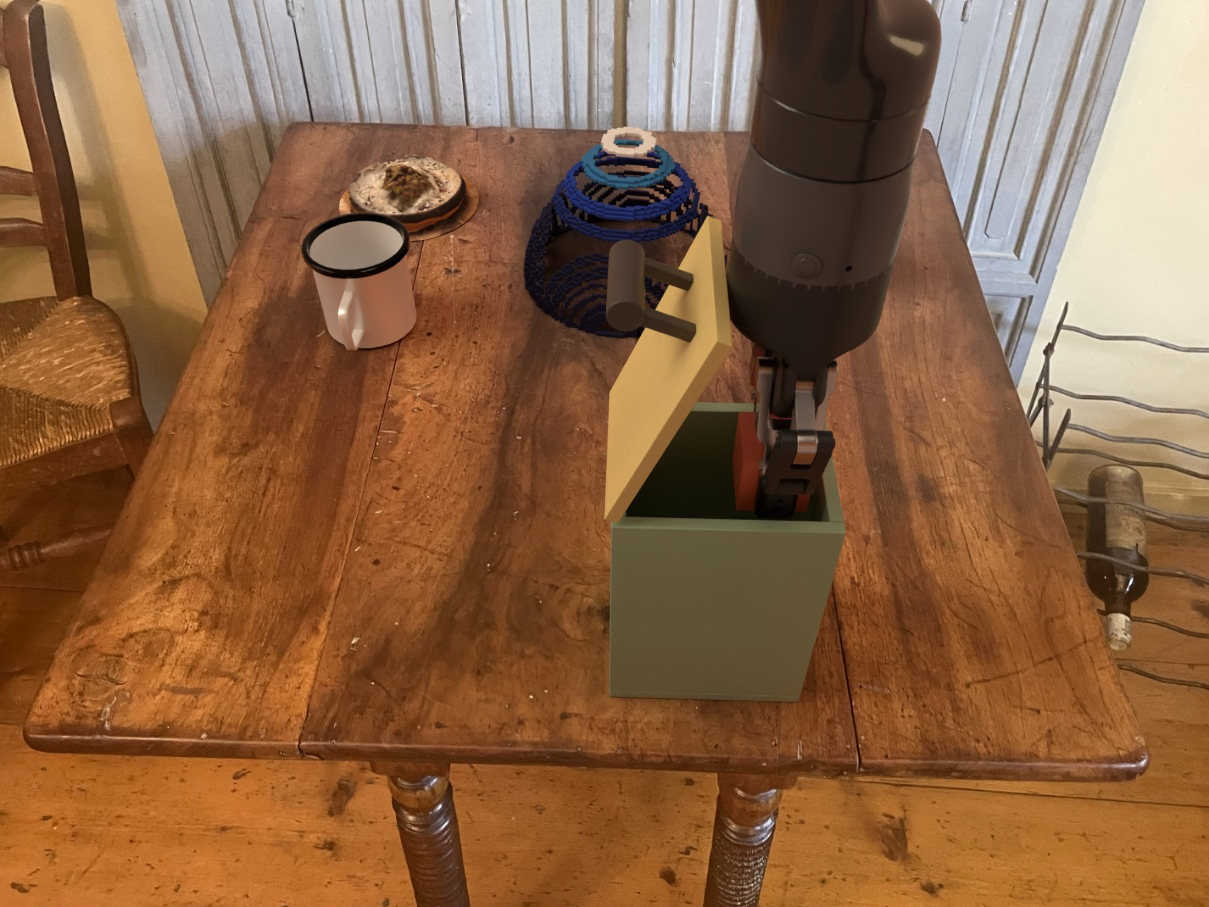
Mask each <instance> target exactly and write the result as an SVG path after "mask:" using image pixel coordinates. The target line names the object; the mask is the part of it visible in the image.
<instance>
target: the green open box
mask: <svg viewBox="0 0 1209 907" xmlns="http://www.w3.org/2000/svg"><path fill="white" fill-rule="evenodd" d="M739 412H754V406H753V402H752V403H751V402H750V403H747V402H746V403H745V402H707V401H706V402H705V401H704V402H703V401H700V402H699V401H697V402H696V403H695V405H694V407H693V408H692V410H691V411H690V413H689V414H688V416H687V417H686V419H685V420H684V422H683V423H682V425H681V427H680V428H679V430H678V431H677V433H676V434H675V436H674V437H673V439H672V440H671V442H670V444H669V445H668V447H667V448H666V450H665V451H664V453H663V454H662V456H661V457H660V459H659V460H658V462H657V464H656V465H655V467H654V468H653V470H652V471H651V473H650V474H649V476H648V477H647V479H646V480H645V482H644V484H643V485H642V487H641V488H640V490H639V491H638V493H637V494H636V496H635V497H634V499H633V500H632V502H631V504H630V505H629V507H628V508H627V510H626V511H625V513H624V514H623V516H622V517H621V519H620V521H619V522H618V523H615V522H611V521H610V567H609V568H610V569H609V570H610V571H609V573H610V576H609V578H610V579H609V581H610V582H609V591H610V592H609V662H608V664H609V672H608V675H609V676H608V678H609V679H608V696H609V697H612V698H613V697H614V698H639V699H642V698H643V699H645V698H647V699H675V700H676V699H677V700H707V701H708V700H709V701H710V700H711V701H713V700H714V701H715V700H717V701H748V702H777V703H779V702H781V703H782V702H784V703H798V702H799V701H800V697H801V694H802V690H803V686H804V684H805V679H806V676H807V673H808V669H809V667H810V666H809V665H810V663H811V659H812V655H813V652H814V647H815V645H816V641H817V637H818V634H819V630H820V627H821V626H820V625H821V623H822V619H823V616H824V612H825V609H826V605H827V602H828V598H829V595H830V591H831V588H832V584H833V581H834V577H835V575H836V574H835V573H836V570H837V567H838V563H839V559H840V556H841V552H842V549H843V545H844V543H845V538H846V534H847V531H846V524H845V520H844V513H843V509H842V502H841V496H840V491H839V485H838V480H837V473H836V469H835V462H834V457H833V455H832V456H831V458H830V460H829V462H828V464H827V466H826V468H825V470H824V473H823V475H822V477H821V479H820V481H819V483H818V485H817V487H816V489H815V491H814V493H813V495H810V499H809V503H808V508H807V512H794V515H793V516H791V517H789V518H760V517H758V516H756V515H755V511H744V510H736V500H735V488H734V475H733V463H732V458H733V451H734V444H735V437H736V430H737V422H738V415H739ZM824 431H829V429H828V423H827V420H826V421H825V428H824Z"/></svg>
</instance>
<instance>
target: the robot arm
mask: <svg viewBox="0 0 1209 907" xmlns="http://www.w3.org/2000/svg"><path fill="white" fill-rule="evenodd" d="M754 8H755V14H756V20H757V29H758V38H759V55H758V60H757V66H756V74H755V81H754V91H753V99H752V108H751V116H750V126H749V134H748V139H747V145H746V149H745V153H744V157H743V160H742V164H741V167H740V172H739V176H738V181H737V189H736V199H735V207H734V216H733V224H732V234H731V240H730V241H731V242H730V251H729V258H728V267H727V268H728V269H727V276H726V279H727V290H728V302H729V313H730V323H732V324H733V326H734V327H735V329H736V330H737V331H738V332H739V333H740V334H741V335H742V336H744V337H745V338H746V339H747V340H749V341H750V343H751V344H750V345H751V355H750V360H749V366H748V368H749V384H750V386H751V387H752V390H750V400H752V404H753V406H754V412H756V414H755V429H756V434H757V438H758V440H759V441H760V442H762V447H761V457H760V461H758V470H760V472H759V477H758V483H757V489H756V495H755V501H754V509H755V515H756V516H758V517H760V518H789V517H791V516H793V515H794V512H795V507H796V503H797V498H798V495H813V493H814V491H815V489H816V487H817V485H818V483H819V481H820V479H821V477H822V475H823V473H824V470H825V468H826V466H827V464H828V462H829V460H830V458H831V456H833V452H834V450H835V448H836V438H835V437H834V432H833V430H828V431H824V428H825V421H826V422H827V415H828V414H827V413H828V407H829V399H830V397H831V396H832V395H833V394H834V393H835V391H836V386H837V379H838V367H839V366H838V365H839V364H838V358H839V357H841V356H843V355H845V354H847V353H849V352H851V351H853V350H855V349H857V348H858V347H860V346H862V345H863V344H864V343H866V342H867V341H868V340H869V339H870V338H871V337H872V336H873V334H874V333H875V332H876V330H877V329H878V326H879V324H880V321H881V318H882V314H883V310H884V307H885V306H884V305H885V302H886V298H887V297H886V296H887V294H888V291H889V285H890V283H891V277H892V275H893V270H894V266H895V263H896V259H897V255H898V251H899V247H900V243H901V240H902V235H903V231H904V229H905V228H904V227H905V223H906V220H907V216H908V213H909V212H908V211H909V209H910V203H911V197H912V191H913V179H914V169H915V164H916V158H917V157H916V156H917V153H918V149H919V145H920V141H921V137H922V132H923V129H924V125H925V121H926V117H927V114H928V110H929V105H930V102H931V98H932V93H933V90H934V85H935V80H936V76H937V72H938V67H939V63H940V56H941V51H942V43H943V42H942V41H943V40H942V26H941V21H940V18H939V16H938V14H937V11H936V9H935V8H934V6H933V5H932V4H931V3H930V2H929V0H754ZM769 414H774V415H775V416H776V417H779V418H792V419H772V418H769Z"/></svg>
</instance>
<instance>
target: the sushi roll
mask: <svg viewBox="0 0 1209 907" xmlns="http://www.w3.org/2000/svg"><path fill="white" fill-rule="evenodd" d="M403 156H404V157H400V158H399V159H398V158H397V157H393V159H394V161H392V160H390V158H388V160H390V161H389V162H388V161H378V162H377V163H376V162H375V163H373V164H370V165H369V166H366V167H365V168H363V169H361V170H358V171H357V175H356V176H355V177H354V178H353V179H352V178H350V179H349V181H351V182H348V184H347V189H346V190H345V191H344V192H343V194H342V196H341V198H340V201H339V205H338V211H339V214H340V215H344V214H349V213H357V212H370V213H378V214H383V215H387V216H389V217H392V218H394V219H396V220H398V221H399V222H401V223H402V224H403V225H404V226H405V227H406V229H407V231H408V233H409V236H410V242H415V241H425V240H429V239H435V238H437V237H439V236H442V235H444V234H447V233H450V232H451V231H454V230H456V229H458V228H459V227H461V226H462V225H464V224H465V223H466V222H467V221H469V220H470V219H471V218H472V216H473V215H474V214H475V213H476V211H477V209H478V206H479V200H480V196H479V192H478V189H477V187H476V185H474V183H473V182H472V181H471V180H469V178H468V177H465V175H464V174H463V173H459V171H457V170H456V169H454V168H453V167H450V166H448V165H446V164H444V163H443V162H440V160H437V159H434V158H432V157H430V156H421V155H419V154H417V153H415V154H414V153H413V154H404V155H403ZM409 156H410V157H409Z"/></svg>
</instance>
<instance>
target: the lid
mask: <svg viewBox="0 0 1209 907" xmlns="http://www.w3.org/2000/svg"><path fill="white" fill-rule="evenodd" d="M713 217H714V216H713ZM713 217H710V216H707V218H706V220H705V221H704V223H703V225H702V227H701V229H700V230H699V232H698V234H697V236H696V238H695V239H694V238H693V241H692V243H691V245H690V246H689V248H688V250H687V252H686V254H685V256H684V258H683V259H682V261H681V263H680V265H679V266H678V268H677V267H675V266H672V265H669V264H667V263H663V262H661V261H658V260H655V259H652V258H649V257H646V253H645V250H644V247H643V246H642V245H641V244H640V243H638V242H635V241H632V240H622V241H619V242H614V244H613V245H612V246H611V247H610V249H609V252H608V256H609V263H608V264H607V265H608V266H607V267H608V279H607V282H608V283H607V282H606V286H607V290H606V293H607V299H606V319H607V321H606V322H607V323H608V325H610V327H611V328H613V329H614V330H617V331H619V332H625V331H631V330H634V329H636V328H638V327H639V326H642V327H643V328H644V329H643V330H644V331H643V333H642V335H641V336H639V339H638V341H637V342H636V344H635V346H634V348H632V351H631V353H630V355H629V356H628V359H627V360H626V361H625V363H624V366H623V367H622V370H621V371H620V373H619V375H618V377H617V378H616V380H615V382H614V383H613V385H612V388H611V389H610V391H609V397H608V423H607V445H606V467H605V468H606V470H605V495H604V496H605V498H604V499H605V500H604V516H603V517H604V520H605V521H608V522H610V523H611V522H615V523H618V522H619V521H620V519H621V517H622V516H623V514H624V513H625V511H626V510H627V508H628V507H629V505H630V504H631V502H632V500H633V499H634V497H635V496H636V494H637V493H638V491H639V490H640V488H641V487H642V485H643V484H644V482H645V480H646V479H647V477H648V476H649V474H650V473H651V471H652V470H653V468H654V467H655V465H656V464H657V462H658V460H659V459H660V457H661V456H662V454H663V453H664V451H665V450H666V448H667V447H668V445H669V444H670V442H671V440H672V439H673V437H674V436H675V434H676V433H677V431H678V430H679V428H680V427H681V425H682V423H683V422H684V420H685V419H686V417H687V416H688V414H689V413H690V411H691V410H692V408H693V407H694V405H695V403H696V402H698V400H700V398H701V396H702V394H703V393H704V391H705V389H707V387H708V386H709V384H710V382H711V381H712V379H713V377H714V376H715V374H716V372H717V371H718V370H719V368H720V366H722V364H723V362H724V360H725V359H726V358H727V356H728V354H729V353H730V351H731V350H732V348H733V337H732V325H731V320H730V313H729V302H728V290H727V267H726V268H725V249H724V243H723V242H724V238H723V235H724V234H723V226H722V220H720V219H718V218H716V217H715V218H713ZM645 277H647V278H651V279H653V280H654V281H655V280H657V281H656V282H658V281H660V282H661V284H662V283H663V284H664V283H665V284H668V285H669V286H668V288H667V287H666V290H665V291H666V292H665V293H664V295H663V297H662V299H661V301H659V303H658V304H657V305H658V306H657V308H656V310H654V309H651V308H650V307H648V306H645V305H646V301H645V295H646V292H645Z"/></svg>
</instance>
